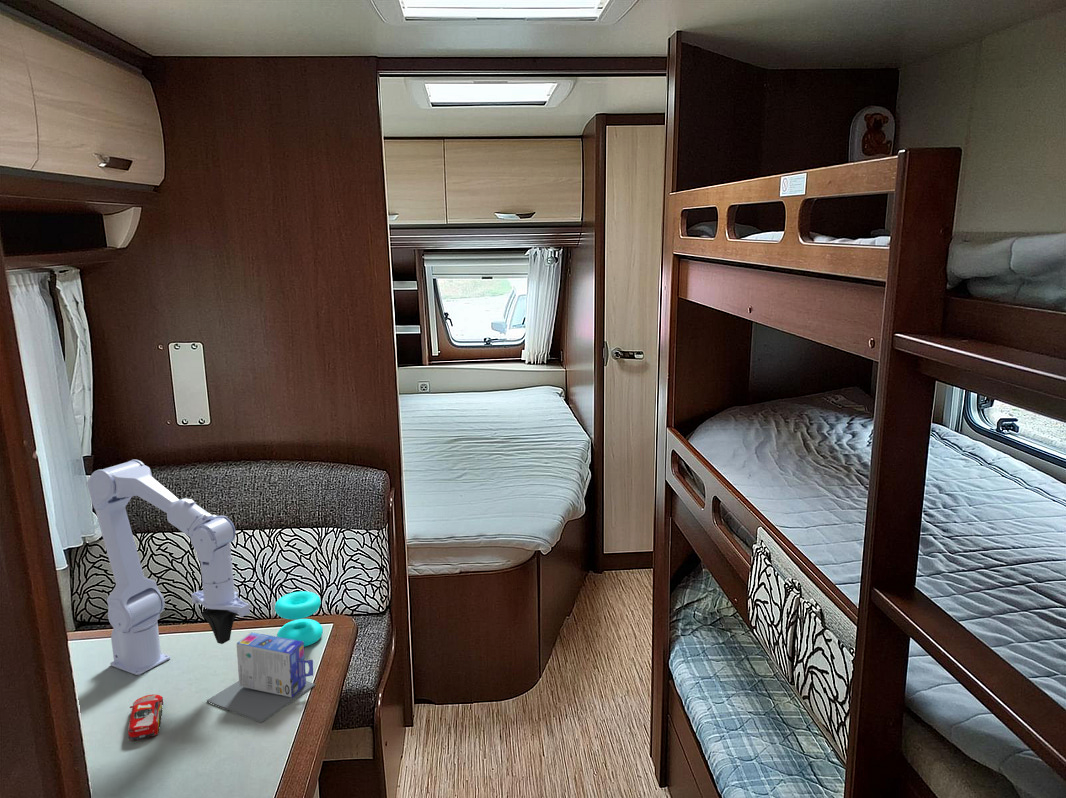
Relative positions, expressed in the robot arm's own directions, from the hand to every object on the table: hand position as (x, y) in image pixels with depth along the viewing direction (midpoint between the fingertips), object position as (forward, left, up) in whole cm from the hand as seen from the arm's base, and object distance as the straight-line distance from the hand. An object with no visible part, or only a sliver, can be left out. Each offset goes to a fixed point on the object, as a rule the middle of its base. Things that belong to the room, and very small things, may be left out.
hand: (223, 641), depth 152 cm
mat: (+10, 0, -9) cm, 13 cm away
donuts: (0, +20, -9) cm, 22 cm away
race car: (-2, -16, -10) cm, 19 cm away
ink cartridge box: (+5, +1, -3) cm, 6 cm away
